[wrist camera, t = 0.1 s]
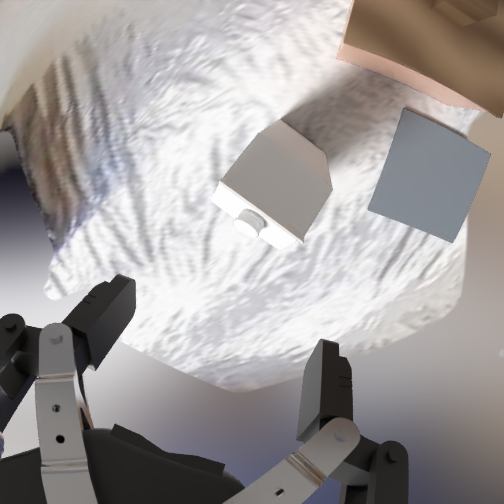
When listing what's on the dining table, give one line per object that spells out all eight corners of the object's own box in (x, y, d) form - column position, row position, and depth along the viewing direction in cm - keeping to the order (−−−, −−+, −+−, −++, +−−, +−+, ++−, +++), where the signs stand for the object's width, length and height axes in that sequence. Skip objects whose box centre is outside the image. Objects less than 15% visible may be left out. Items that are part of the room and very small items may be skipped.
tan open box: (361, -38, 22) (376, -81, 12) (468, 11, 22) (515, -8, 11) (336, 58, 30) (346, 41, 20) (447, 105, 29) (495, 113, 19)
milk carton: (279, 118, 35) (248, 139, 19) (326, 154, 36) (336, 206, 20) (246, 162, 38) (193, 220, 22) (291, 195, 39) (272, 276, 23)
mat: (403, 108, 31) (404, 108, 31) (489, 153, 30) (491, 154, 30) (367, 208, 38) (368, 210, 38) (451, 241, 38) (452, 243, 37)
